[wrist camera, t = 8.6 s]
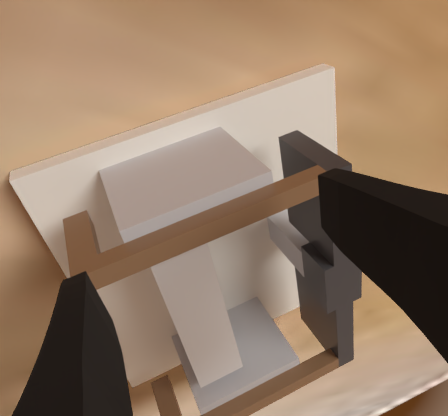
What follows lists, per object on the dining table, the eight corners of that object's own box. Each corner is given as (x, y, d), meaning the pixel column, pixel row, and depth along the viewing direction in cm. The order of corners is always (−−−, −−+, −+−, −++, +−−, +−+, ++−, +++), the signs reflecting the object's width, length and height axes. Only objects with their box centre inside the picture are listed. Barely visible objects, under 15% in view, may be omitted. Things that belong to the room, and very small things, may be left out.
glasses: (155, 390, 24) (174, 455, 21) (62, 219, 16) (70, 280, 13) (321, 308, 26) (360, 355, 23) (306, 126, 19) (362, 159, 16)
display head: (129, 375, 27) (152, 467, 22) (10, 171, 18) (2, 252, 13) (333, 277, 30) (392, 338, 25) (322, 63, 21) (412, 94, 16)
